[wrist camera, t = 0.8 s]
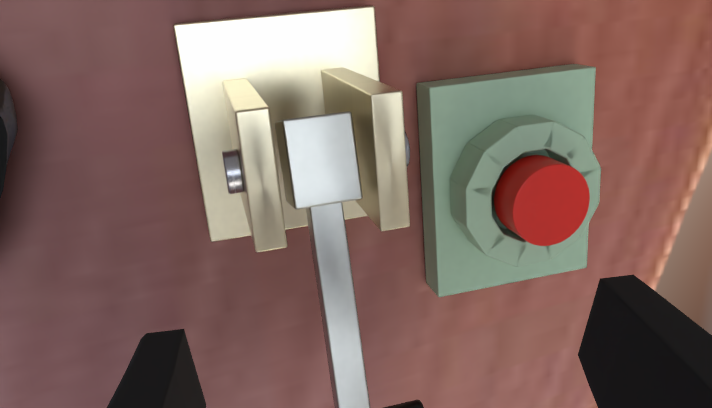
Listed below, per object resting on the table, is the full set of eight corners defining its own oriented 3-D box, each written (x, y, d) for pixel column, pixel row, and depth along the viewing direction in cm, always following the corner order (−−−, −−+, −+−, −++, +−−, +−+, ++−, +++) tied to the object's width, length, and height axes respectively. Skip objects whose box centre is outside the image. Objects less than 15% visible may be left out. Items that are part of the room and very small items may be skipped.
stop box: (567, 255, 33) (609, 282, 29) (425, 282, 31) (453, 315, 28) (574, 63, 29) (621, 70, 26) (416, 83, 28) (445, 93, 24)
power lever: (413, 411, 23) (436, 441, 21) (282, 442, 22) (290, 478, 20) (375, 109, 22) (394, 105, 19) (233, 127, 21) (235, 125, 18)
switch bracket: (381, 205, 29) (455, 282, 21) (209, 233, 27) (218, 329, 19) (367, 5, 26) (447, 5, 18) (173, 23, 24) (165, 32, 16)
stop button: (565, 225, 28) (588, 238, 27) (493, 238, 27) (512, 253, 26) (568, 149, 27) (592, 158, 25) (492, 160, 26) (512, 171, 25)
